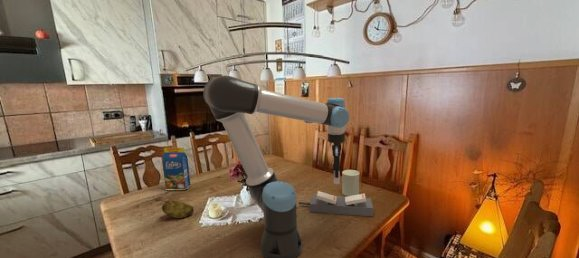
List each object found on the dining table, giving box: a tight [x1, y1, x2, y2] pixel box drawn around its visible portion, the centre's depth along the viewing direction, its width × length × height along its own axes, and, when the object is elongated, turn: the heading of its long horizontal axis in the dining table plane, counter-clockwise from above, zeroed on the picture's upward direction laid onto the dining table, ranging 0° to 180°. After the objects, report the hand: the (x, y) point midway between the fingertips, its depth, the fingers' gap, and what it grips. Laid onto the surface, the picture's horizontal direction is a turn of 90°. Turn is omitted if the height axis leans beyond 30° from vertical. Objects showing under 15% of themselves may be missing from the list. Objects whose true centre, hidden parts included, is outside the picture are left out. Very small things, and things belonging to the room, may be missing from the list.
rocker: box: [316, 190, 338, 204], centre depth 116 cm, size 9×5×2 cm, turn 79°
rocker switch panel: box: [298, 194, 374, 217], centre depth 118 cm, size 34×10×5 cm, turn 79°
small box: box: [344, 193, 367, 205], centre depth 113 cm, size 9×5×2 cm, turn 78°
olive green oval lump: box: [161, 199, 195, 219], centre depth 115 cm, size 8×13×8 cm, turn 81°
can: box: [341, 169, 360, 197], centre depth 134 cm, size 9×9×12 cm
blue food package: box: [162, 147, 191, 190], centre depth 145 cm, size 6×12×25 cm, turn 86°
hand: (336, 183), depth 114 cm, fingers closed
